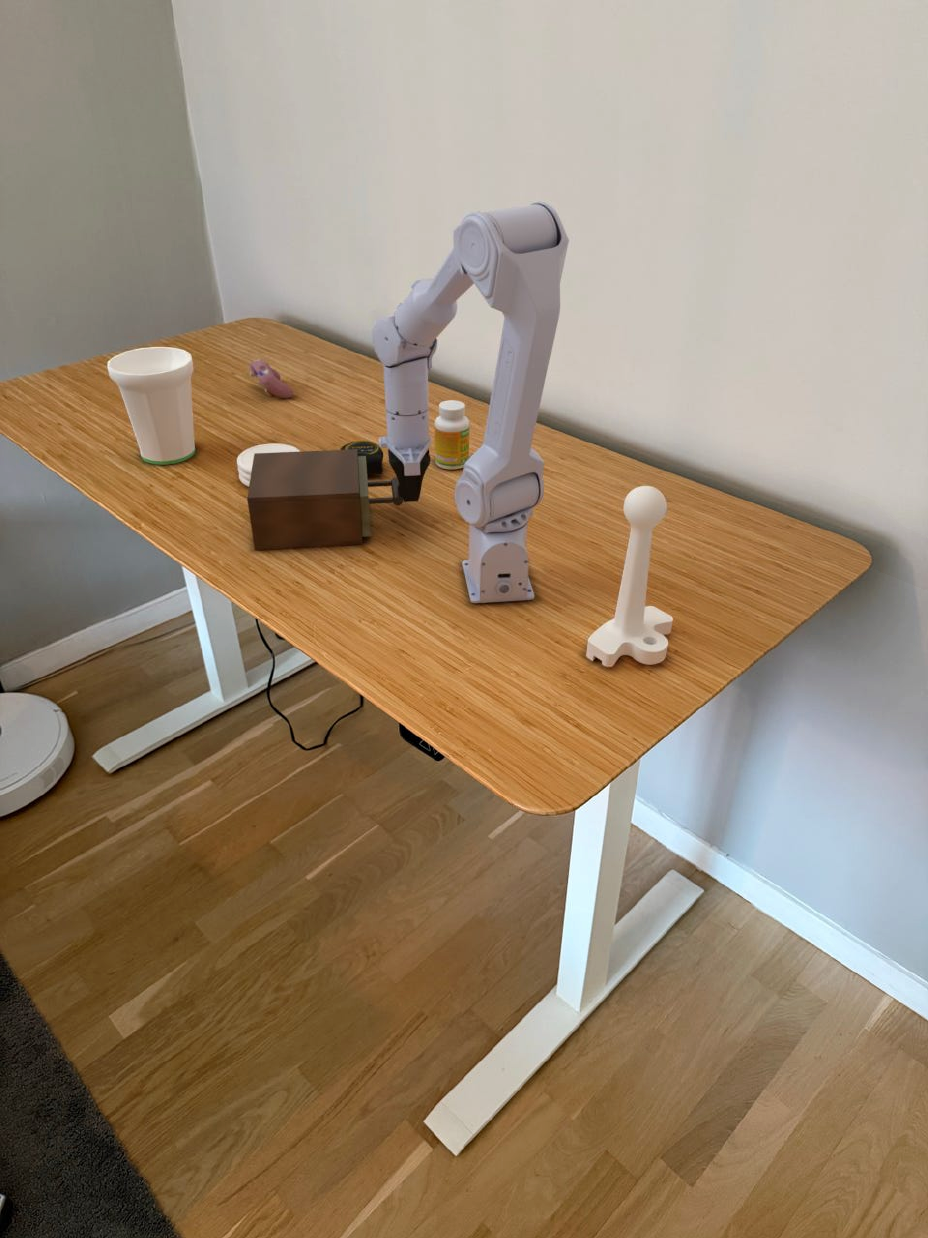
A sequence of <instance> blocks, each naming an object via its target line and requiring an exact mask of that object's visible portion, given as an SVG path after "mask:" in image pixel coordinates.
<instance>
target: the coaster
mask: <svg viewBox="0 0 928 1238" xmlns="http://www.w3.org/2000/svg"><path fill="white" fill-rule="evenodd" d="M300 451H301V450H300V449H299V448H297V447H295V446H294V445H291V444H286V443H274V442H273V443H261V444H258V445H254V446H251V447H248V448H246V449H244V450H243V451H242V452H241V453H240V454H238V456H237V458H236V465H237V472H238V478H239V481H240V482H241V483H242V484H243V486H244V485H245V486H246V487H247V488H249V484H250V478H251V471H252V465H253V459H254V454H255V453H277V452H300Z"/></svg>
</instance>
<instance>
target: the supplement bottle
mask: <svg viewBox="0 0 928 1238" xmlns="http://www.w3.org/2000/svg"><path fill="white" fill-rule="evenodd" d="M469 458H470V420H469V418H468V417H467V416H466V405H465V403H464V402H462V401H461V400H455V399H449V400H444V401H441V402H440V403H439V404H438V416H437V417H436V418H435V420H434V463H435V465H436V466H437V467H438V468H440V469H443V470H448V471H449V470H452V471H453V470H461V469H464V464H465V462H466V461H467V460H468V459H469Z"/></svg>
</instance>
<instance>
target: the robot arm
mask: <svg viewBox="0 0 928 1238" xmlns="http://www.w3.org/2000/svg"><path fill="white" fill-rule="evenodd" d="M452 232H453V234H452V235H453V236H452V240H453V241H452V242H453V246H452V248H451V249H450V251H449V253H448V254H447V256H446V257H445V259H444V260H443V263H442V264H441V265H440V267H439V269H438V270H437V271H436V273H435V275H434V276H433V278H421V279H417V280H414V282H413V283H412V284H411V286H410V287H411V291H410V292H409V293H408V294H407V296H406V297H405V298H404V300H403V301H402V302H400V303H399V304H398V305H397V306H396V311H394V313H393V314H392V315H391V316H389V317H386V316H382V317H379V318H376V320H375V323H374V325H373V328H372V332H371V339H372V346H373V349H374V353H375V355H376V357H377V359H378V360H379V362H380V363H381V364H382V369H383V389H384V404H385V405H384V407H385V423H386V436H380V437H378V446H379V447H380V448H386V449H387V456H388V461H389V462H388V463H389V465H390V468H391V469H392V470H393V472H394V474H395V477H397V479H398V482H399V486H400V490H401V492H402V495H403V503H411V502H419V499H420V497H421V491H422V486H423V480H424V477H425V474H426V471H427V470H428V468H429V467H430V464H431V462H432V461H431V460H432V459H431V454H430V447H431V445H432V436H431V435H430V403H429V400H430V399H429V372H430V371H431V370H432V368H433V357H434V355H435V353H436V351H437V347H438V339H437V338H438V337H439V336H440V335H441V334H442V332H443V331H444V330H445V329H446V328H447V327H448V326H449V325H450V323H451V322H452V321H453V320H454V319H455V317H456V315H457V312H458V300H459V299H460V298H461V297H462V296H463V295H464V294H465V293H466V292H467V291H468V290H469V289H470V288H471V287H472V286H473V285H475V287H476V289H478V291H479V292H480V294H481V296H482V297H483V298H484V300H485V301H486V303H487V304H488V306H489V307H490V308H492V309H494V310H496V311H499V312H501V313H502V315H503V325H502V332H501V338H500V341H499V342H500V343H499V348H498V352H497V353H498V354H497V359H496V360H497V361H496V365H495V371H494V378H493V384H492V389H491V395H490V402H489V407H488V411H487V412H488V413H487V418H486V425H485V431H484V435H483V436H484V437H483V442H482V444H481V445H480V447H478V449H477V450H476V451H474V453H472V455H471V456H469V459H468V460H467V461H466V462H465V464H464V467H463V468H462V474H461V475H460V477H459V478H458V479H457V481H456V483H455V487H454V502H455V506H456V509H457V511H458V513H459V515H460V516H461V517H462V519H463V520H464V521H465V522H466V523H467V524H468V559H465V560H464V559H463V561H462V562H461V566H462V570H463V575H464V579H465V582H466V587H467V592H468V597H469V601H470V603H472V604H485V603H501V602H502V603H503V602H518V601H532V600H534V599H535V592H534V590H533V586H532V583H531V581H530V577H529V563H530V557H529V552H528V549H527V546H528V545H527V544H528V527H529V526H528V525H529V519H530V518H532V517H533V516H534V508H535V507H536V506H538V505H539V504H541V502H542V500H543V499H544V495H545V484H544V483H545V482H544V469H545V460H543V458H542V456H541V455H540V454H539V453H538V452H537V451H536V449H534V448H533V447H532V444H533V439H534V434H535V430H536V425H537V420H538V417H539V411H540V406H541V402H542V397H543V394H544V393H543V392H544V388H545V383H546V380H547V374H548V369H549V364H550V360H551V356H552V351H553V346H554V341H555V338H556V337H555V336H556V332H557V327H558V323H559V318H560V312H561V282H562V281H561V280H562V275H563V270H564V266H565V261H566V256H567V252H568V246H569V242H570V239H569V236H568V234H567V232H566V230H565V228H564V226H563V223H562V220H561V218H560V216H559V214H558V213H557V211H556V209H555V208H554V207H553V206H552V205H550V204H549V203H547V202H544V201H536V202H532V203H531V204H527V205H521V206H516V207H515V206H514V207H508V208H502V209H496V210H489V211H479V210H478V211H471V212H469V213H466V215H464V217H463V218H462V220H461V222H460V224H459V225H458V226H457V227H456V228H455V229H454V230H453V231H452Z"/></svg>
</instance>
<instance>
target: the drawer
mask: <svg viewBox="0 0 928 1238" xmlns="http://www.w3.org/2000/svg"><path fill="white" fill-rule="evenodd" d="M357 460H358V478H359V496H360V511H361V526H362V538H363V537H365V538H366V537H372V530H371V512H370V505H374V504H375V505H376V504H394V505H395V506H397V507H400V506H402V505H403V503H404V500H403V495H402V492H401V490H400V486H399V482H398V479H397V476H395V477H392V478H391V479H390V480H376V481H375V480H374V481H369V480H368V475H367V466H366V456H358V457H357ZM379 487H391V495H392V496H388V497H387V496H386V497H369V496H370V494H369V488H379Z"/></svg>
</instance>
